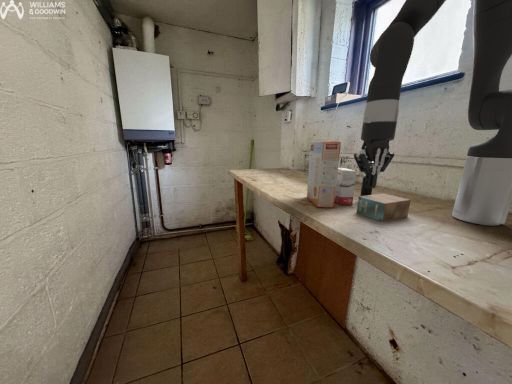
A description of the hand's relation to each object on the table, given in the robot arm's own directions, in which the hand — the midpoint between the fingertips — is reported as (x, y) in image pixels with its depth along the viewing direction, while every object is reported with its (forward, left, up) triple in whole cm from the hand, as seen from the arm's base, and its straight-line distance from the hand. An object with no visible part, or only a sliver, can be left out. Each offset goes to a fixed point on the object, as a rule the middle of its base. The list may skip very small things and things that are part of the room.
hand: (369, 187), depth 56 cm
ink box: (+2, -16, -9) cm, 18 cm away
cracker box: (+10, -14, -9) cm, 19 cm away
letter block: (-1, 0, -6) cm, 6 cm away
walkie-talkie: (-6, -15, -9) cm, 19 cm away
